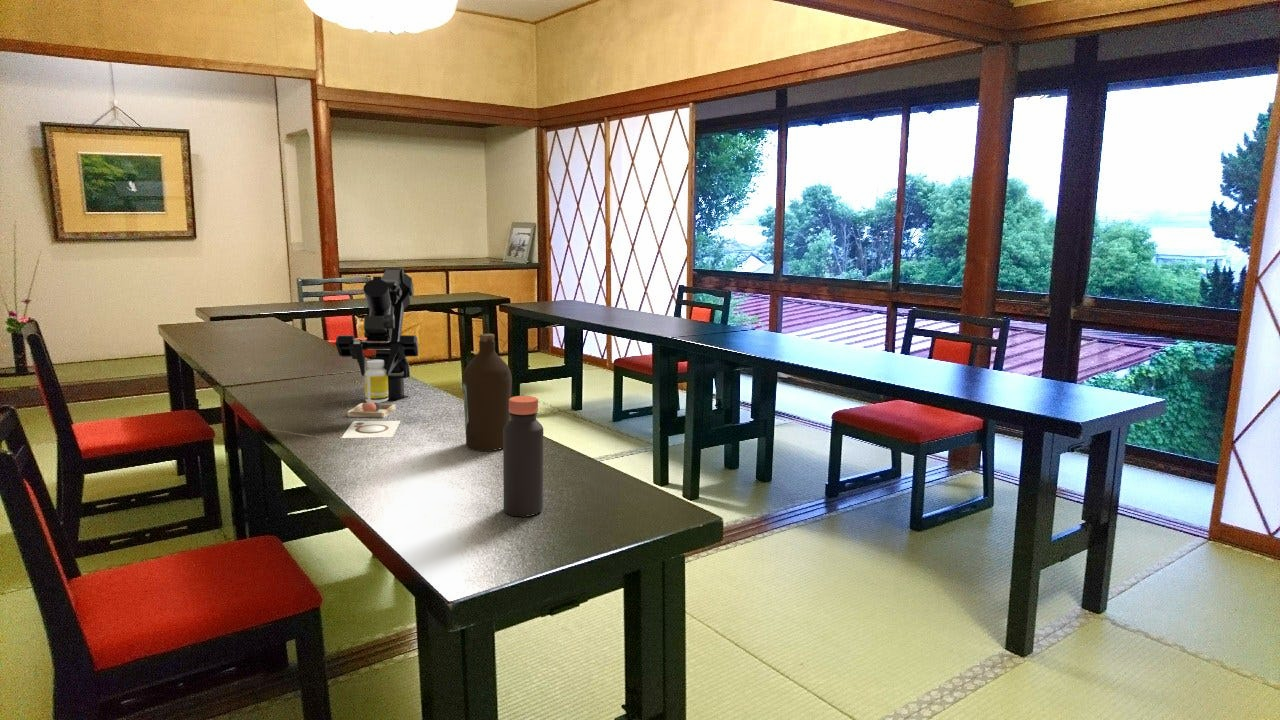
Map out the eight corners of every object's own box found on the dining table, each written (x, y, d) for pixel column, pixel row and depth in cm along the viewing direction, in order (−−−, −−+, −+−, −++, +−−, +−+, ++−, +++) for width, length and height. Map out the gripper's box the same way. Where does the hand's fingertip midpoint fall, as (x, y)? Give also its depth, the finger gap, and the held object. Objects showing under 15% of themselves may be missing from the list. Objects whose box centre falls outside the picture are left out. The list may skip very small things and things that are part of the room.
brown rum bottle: (514, 439, 173) (514, 331, 168) (508, 453, 163) (508, 338, 158) (468, 438, 173) (466, 330, 168) (459, 452, 162) (457, 337, 158)
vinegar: (508, 520, 127) (508, 405, 123) (499, 506, 133) (499, 395, 129) (547, 515, 129) (548, 402, 126) (536, 501, 135) (537, 393, 132)
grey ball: (374, 408, 194) (373, 396, 194) (384, 410, 193) (383, 397, 193) (365, 411, 191) (365, 399, 191) (375, 412, 190) (375, 400, 190)
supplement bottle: (393, 399, 184) (392, 360, 182) (377, 404, 179) (375, 363, 177) (376, 396, 186) (375, 357, 184) (360, 401, 181) (358, 361, 179)
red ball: (368, 412, 191) (368, 399, 190) (379, 413, 190) (378, 401, 189) (360, 414, 188) (359, 402, 187) (370, 416, 187) (370, 403, 186)
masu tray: (361, 409, 195) (361, 403, 195) (396, 410, 195) (395, 404, 195) (347, 418, 186) (347, 411, 186) (384, 419, 186) (383, 412, 186)
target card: (353, 423, 182) (353, 421, 182) (400, 422, 184) (400, 420, 184) (341, 439, 168) (341, 437, 168) (392, 438, 170) (392, 436, 170)
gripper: (335, 302, 180) (327, 355, 171) (416, 302, 183) (412, 355, 175) (343, 329, 189) (336, 382, 181) (420, 329, 192) (416, 381, 184)
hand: (374, 374), depth 180 cm, fingers closed on supplement bottle, 5 cm apart
